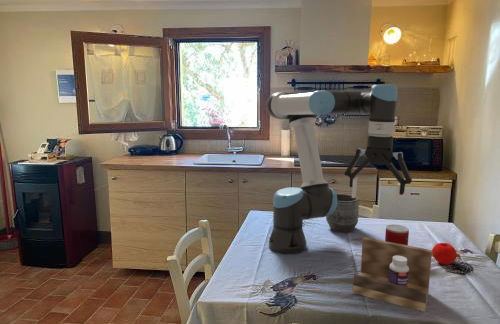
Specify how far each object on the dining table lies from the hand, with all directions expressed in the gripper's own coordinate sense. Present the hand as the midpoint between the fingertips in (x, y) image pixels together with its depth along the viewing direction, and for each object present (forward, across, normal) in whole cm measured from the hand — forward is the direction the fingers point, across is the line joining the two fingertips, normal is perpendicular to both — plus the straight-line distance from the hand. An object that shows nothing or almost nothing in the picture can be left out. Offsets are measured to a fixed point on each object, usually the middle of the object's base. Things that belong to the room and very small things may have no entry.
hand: (375, 200), depth 114 cm
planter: (+28, -21, +39) cm, 52 cm away
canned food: (+27, +5, +21) cm, 34 cm away
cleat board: (+26, +8, -8) cm, 28 cm away
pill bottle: (+23, +10, -9) cm, 27 cm away
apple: (+26, +21, +23) cm, 41 cm away
